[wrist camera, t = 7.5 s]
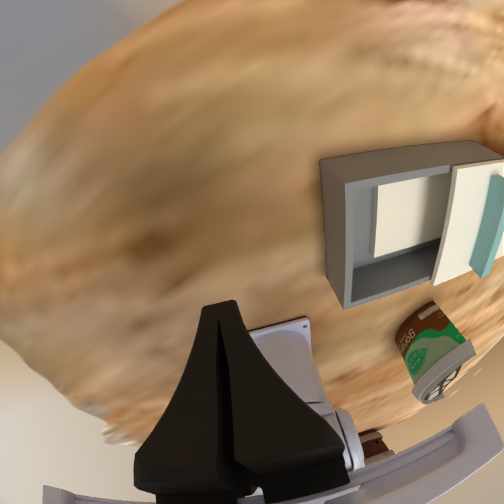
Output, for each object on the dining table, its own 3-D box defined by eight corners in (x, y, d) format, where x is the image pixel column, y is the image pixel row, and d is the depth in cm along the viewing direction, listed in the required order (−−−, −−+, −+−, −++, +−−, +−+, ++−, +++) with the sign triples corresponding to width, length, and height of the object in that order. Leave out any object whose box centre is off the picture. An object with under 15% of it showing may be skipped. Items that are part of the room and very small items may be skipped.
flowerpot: (338, 437, 61) (360, 504, 45) (391, 419, 62) (416, 480, 46) (328, 451, 69) (345, 508, 53) (375, 436, 71) (395, 489, 55)
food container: (396, 307, 31) (437, 374, 23) (436, 292, 32) (478, 352, 24) (381, 361, 39) (407, 417, 31) (414, 347, 39) (443, 399, 31)
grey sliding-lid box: (456, 236, 27) (479, 259, 23) (326, 276, 26) (343, 309, 23) (472, 140, 20) (504, 157, 17) (319, 160, 20) (344, 183, 16)
